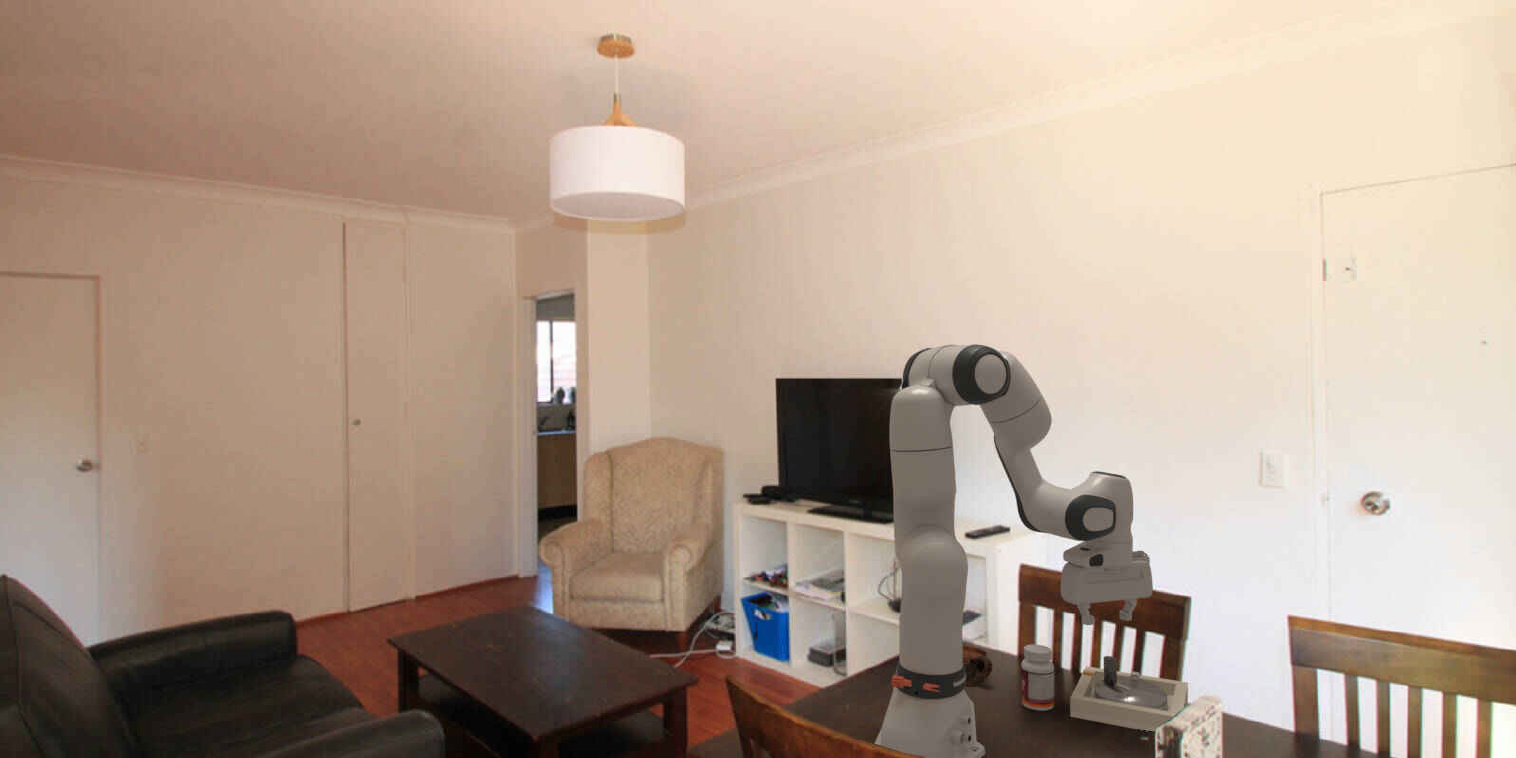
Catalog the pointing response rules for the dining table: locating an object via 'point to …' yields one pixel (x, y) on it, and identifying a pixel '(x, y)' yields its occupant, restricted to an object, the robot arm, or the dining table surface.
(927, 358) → the robot arm
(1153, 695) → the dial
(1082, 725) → the dining table surface
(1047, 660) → the pill bottle
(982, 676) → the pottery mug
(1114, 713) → the tray
